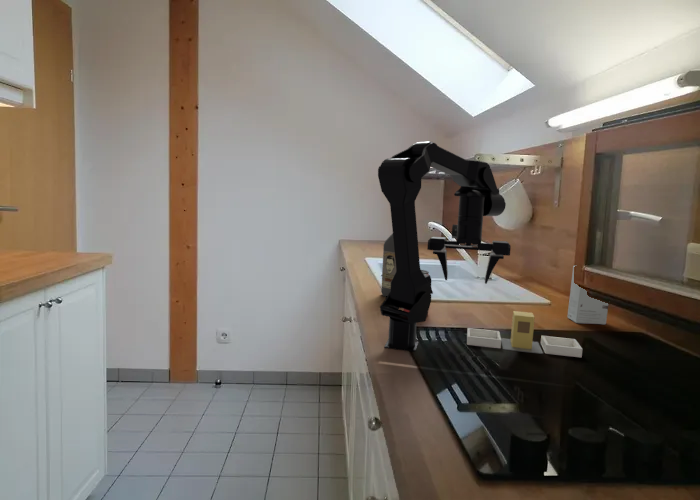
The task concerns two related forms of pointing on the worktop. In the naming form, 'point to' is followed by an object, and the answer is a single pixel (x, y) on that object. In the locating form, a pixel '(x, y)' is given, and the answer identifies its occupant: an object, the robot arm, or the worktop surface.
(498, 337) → the shallow white dish
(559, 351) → the white square tray
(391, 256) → the liquor
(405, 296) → the robot arm
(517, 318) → the tan carton
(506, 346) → the slate coaster
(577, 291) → the skincare box
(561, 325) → the worktop surface
